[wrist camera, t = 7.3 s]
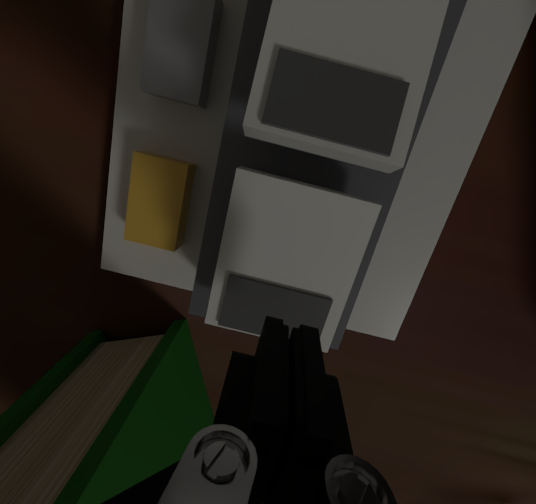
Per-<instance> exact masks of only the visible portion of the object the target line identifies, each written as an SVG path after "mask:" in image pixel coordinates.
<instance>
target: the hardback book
mask: <svg viewBox="0 0 536 504" xmlns="http://www.w3.org/2000/svg"><path fill="white" fill-rule="evenodd" d="M213 422H214V416H213V412H212V409H211V405H210V402H209V398H208V395H207V391H206V388H205V384H204V381H203V377H202V374H201V370H200V366H199V363H198V359H197V356H196V352H195V349H194V345H193V342H192V338H191V335H190V331H189V327H188V324H187V320H186V319H179V320H174V321H173V322H172V324H171V325H170V327H169V328H168V330H167V331H166V333H165V334H164V335H156V336H149V337H141V338H134V339H126V340H119V341H111V342H107V341H106V338H105V335H104V333H103V330H99V331H92V332H90V333H89V334H88V335H87V336H86V337H85V338H83V339H82V340H81V341H80V342H79V343H78V344H77V345H76V346H75V347H74V348H73V349H72V350H71V351H69V352H68V353H67V354H66V355H65V356H64V357H63V358H62V359H61V360H60V361H59V362H58V363H56V364H55V365H54V366H53V367H52V368H51V369H50V370H49V371H48V372H47V373H46V374H45V375H43V376H42V377H41V378H40V379H39V380H38V381H37V382H36V383H35V384H34V385H33V386H32V387H31V388H29V389H28V390H27V391H26V392H25V393H24V394H23V395H22V396H21V397H20V398H19V399H18V400H16V401H15V402H14V403H13V404H12V405H11V406H10V407H9V408H8V409H7V410H6V411H5V412H4V413H2V414H1V415H0V504H101V503H103V502H104V501H106V500H108V499H110V498H112V497H114V496H115V495H117V494H119V493H121V492H123V491H124V490H126V489H128V488H130V487H132V486H134V485H135V484H137V483H139V482H141V481H143V480H144V479H146V478H148V477H150V476H152V475H154V474H155V473H157V472H159V471H161V470H163V469H165V468H166V467H168V466H170V465H172V464H174V463H175V462H177V461H179V460H181V458H182V456H183V454H184V452H185V450H186V448H187V446H188V444H189V442H190V441H191V440H192V438H193V437H194V436H195V434H196V433H198V432H199V431H200V430H202V429H203V428H205V427H208V426H211V425H213Z"/></svg>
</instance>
